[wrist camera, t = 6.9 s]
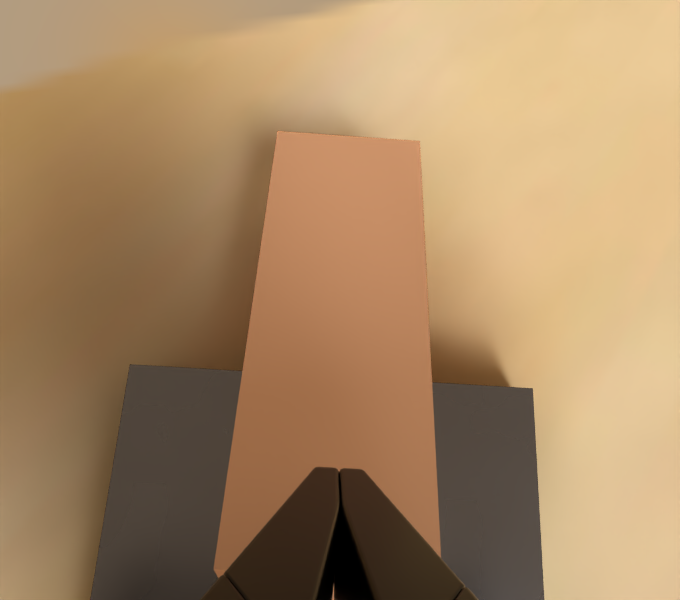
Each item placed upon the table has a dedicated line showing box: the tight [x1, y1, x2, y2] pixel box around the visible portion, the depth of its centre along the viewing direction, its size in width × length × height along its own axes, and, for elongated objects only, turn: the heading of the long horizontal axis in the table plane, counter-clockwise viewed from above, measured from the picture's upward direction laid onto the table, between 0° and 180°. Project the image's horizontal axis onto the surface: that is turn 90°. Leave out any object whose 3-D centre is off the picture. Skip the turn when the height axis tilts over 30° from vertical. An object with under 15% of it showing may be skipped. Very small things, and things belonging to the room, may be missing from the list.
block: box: [214, 131, 441, 600], centre depth 16 cm, size 4×4×12 cm
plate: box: [90, 364, 544, 600], centre depth 17 cm, size 12×12×2 cm
